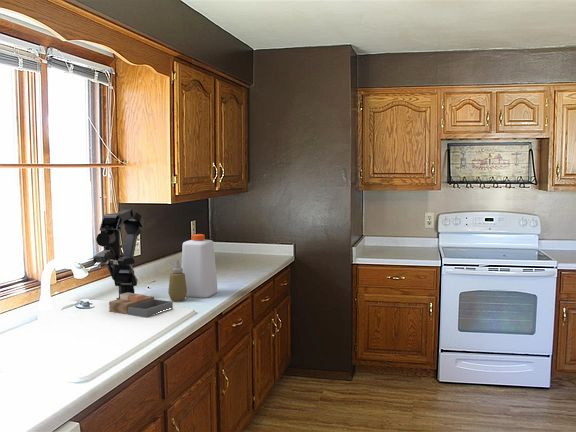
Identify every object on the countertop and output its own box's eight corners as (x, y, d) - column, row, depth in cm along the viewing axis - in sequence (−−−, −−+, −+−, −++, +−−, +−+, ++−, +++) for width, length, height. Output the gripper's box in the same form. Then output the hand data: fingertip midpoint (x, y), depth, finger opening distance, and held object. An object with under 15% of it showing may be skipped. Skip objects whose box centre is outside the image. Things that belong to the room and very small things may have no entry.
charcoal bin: (127, 314, 237) (127, 307, 237) (154, 306, 251) (154, 299, 251) (146, 317, 232) (146, 309, 232) (172, 308, 246) (172, 301, 246)
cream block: (120, 299, 246) (119, 294, 246) (127, 296, 250) (127, 292, 250) (128, 300, 244) (127, 295, 244) (135, 298, 248) (135, 293, 248)
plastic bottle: (207, 299, 264) (206, 237, 262) (176, 297, 268) (175, 236, 266) (220, 292, 278) (219, 233, 276) (191, 290, 283) (190, 232, 280)
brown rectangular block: (109, 311, 242) (109, 301, 242) (136, 303, 256) (136, 294, 256) (127, 314, 237) (127, 304, 237) (154, 305, 251) (154, 296, 251)
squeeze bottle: (178, 303, 256) (177, 262, 254) (164, 301, 260) (163, 260, 259) (190, 299, 263) (190, 259, 261) (177, 297, 267) (176, 258, 265)
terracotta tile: (128, 300, 244) (128, 295, 244) (136, 298, 248) (136, 293, 248) (136, 301, 242) (136, 296, 242) (144, 299, 246) (144, 294, 246)
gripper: (82, 244, 247) (83, 280, 248) (115, 247, 238) (116, 285, 239) (102, 241, 256) (103, 276, 258) (134, 243, 247) (135, 280, 249)
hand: (114, 279), depth 250 cm, fingers closed
